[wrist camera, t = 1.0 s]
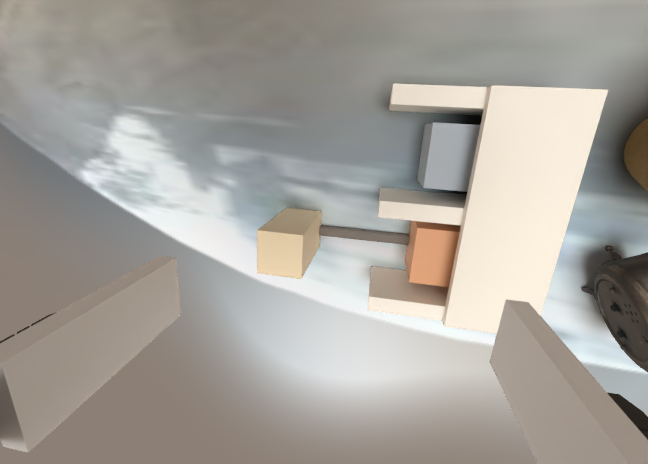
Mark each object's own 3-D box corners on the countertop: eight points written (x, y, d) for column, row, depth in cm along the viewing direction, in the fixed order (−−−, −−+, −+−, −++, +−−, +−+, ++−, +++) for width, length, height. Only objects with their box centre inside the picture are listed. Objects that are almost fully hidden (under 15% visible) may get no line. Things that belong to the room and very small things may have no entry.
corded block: (286, 201, 40) (257, 222, 30) (465, 219, 37) (494, 248, 27) (285, 247, 42) (257, 279, 32) (455, 267, 39) (479, 309, 29)
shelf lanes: (390, 94, 34) (393, 81, 26) (548, 101, 32) (608, 89, 24) (370, 277, 41) (367, 315, 32) (500, 294, 39) (533, 339, 30)
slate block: (424, 124, 35) (433, 122, 29) (483, 127, 34) (503, 126, 28) (416, 179, 37) (423, 188, 31) (472, 184, 36) (489, 193, 30)
